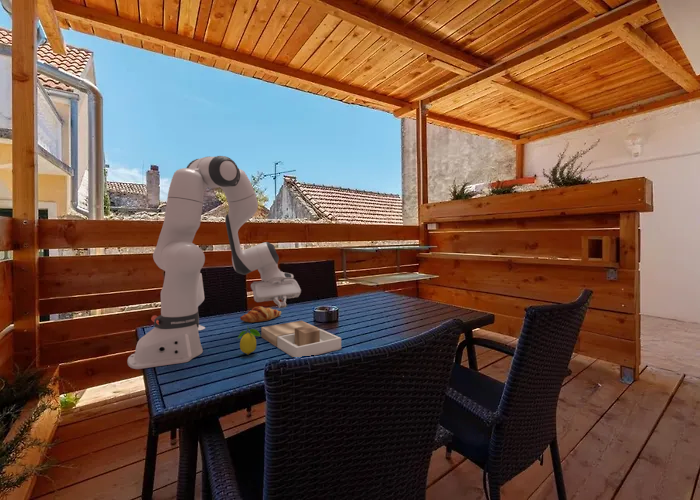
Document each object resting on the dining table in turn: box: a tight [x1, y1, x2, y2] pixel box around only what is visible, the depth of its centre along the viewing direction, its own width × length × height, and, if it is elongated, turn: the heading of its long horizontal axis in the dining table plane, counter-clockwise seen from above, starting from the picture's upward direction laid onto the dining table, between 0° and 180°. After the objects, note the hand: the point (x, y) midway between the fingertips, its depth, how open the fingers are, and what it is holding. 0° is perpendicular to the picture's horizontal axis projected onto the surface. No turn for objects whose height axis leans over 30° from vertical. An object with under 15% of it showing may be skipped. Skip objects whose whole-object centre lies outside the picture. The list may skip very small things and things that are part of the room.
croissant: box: [239, 306, 282, 323], centre depth 167 cm, size 21×10×8 cm, turn 133°
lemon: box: [237, 325, 261, 356], centre depth 120 cm, size 7×6×10 cm
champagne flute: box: [197, 272, 206, 331], centre depth 151 cm, size 7×7×24 cm
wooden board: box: [260, 320, 319, 347], centre depth 139 cm, size 18×14×4 cm
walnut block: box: [295, 326, 320, 346], centre depth 128 cm, size 6×6×8 cm
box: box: [277, 328, 342, 358], centre depth 127 cm, size 18×15×4 cm
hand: (282, 306), depth 144 cm, fingers closed
